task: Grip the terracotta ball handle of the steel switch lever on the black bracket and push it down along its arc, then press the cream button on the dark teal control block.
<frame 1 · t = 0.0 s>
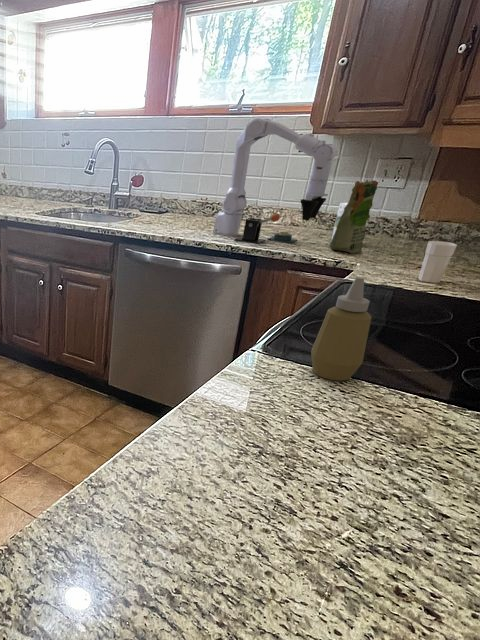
hand: (308, 218, 194), 10 cm above the worktop, tool pointing down, fingers open, 7 cm apart
start button: (283, 233, 203), point 3 cm above the worktop, slide at 0.1 cm
button block: (281, 242, 204), on the worktop
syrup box: (340, 241, 208), on the worktop
squeeze bottle: (330, 375, 95), on the worktop
pouch: (345, 251, 191), on the worktop
switch lever: (264, 220, 197), point 9 cm above the worktop, hinge at 25.0°
cup: (428, 281, 155), on the worktop
switch bracket: (249, 242, 203), on the worktop
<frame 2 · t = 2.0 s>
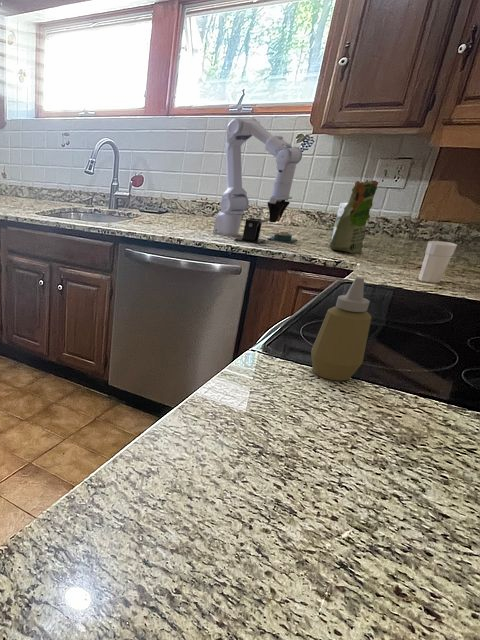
hand: (274, 221, 195), 9 cm above the worktop, tool pointing down, fingers closed on switch lever, 3 cm apart
switch lever: (264, 220, 197), point 9 cm above the worktop, hinge at 25.0°, touching gripper
everything else where it was.
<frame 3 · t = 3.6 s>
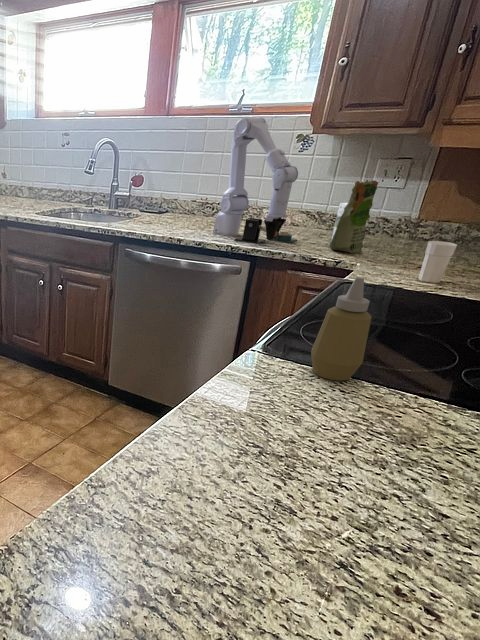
hand: (271, 238, 197), 3 cm above the worktop, tool pointing down, fingers closed on switch lever, 3 cm apart
switch lever: (263, 228, 198), point 6 cm above the worktop, hinge at -17.6°, touching gripper
everything else where it was.
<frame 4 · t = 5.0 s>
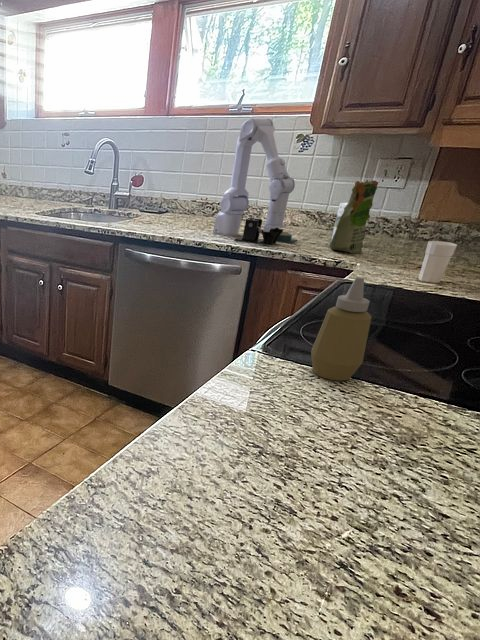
hand: (268, 248, 199), 0 cm above the worktop, tool pointing down, fingers closed on switch lever, 3 cm apart
switch lever: (261, 231, 199), point 5 cm above the worktop, hinge at -33.9°, touching gripper
everything else where it was.
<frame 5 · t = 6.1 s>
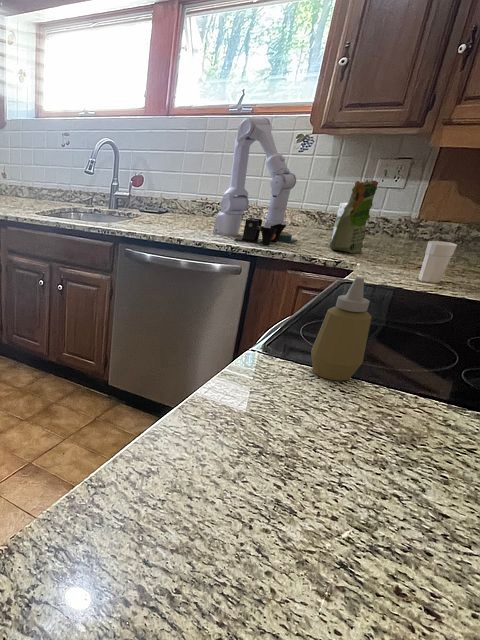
hand: (269, 244, 199), 0 cm above the worktop, tool pointing down, fingers open, 7 cm apart
switch lever: (262, 230, 199), point 5 cm above the worktop, hinge at -25.3°
everything else where it was.
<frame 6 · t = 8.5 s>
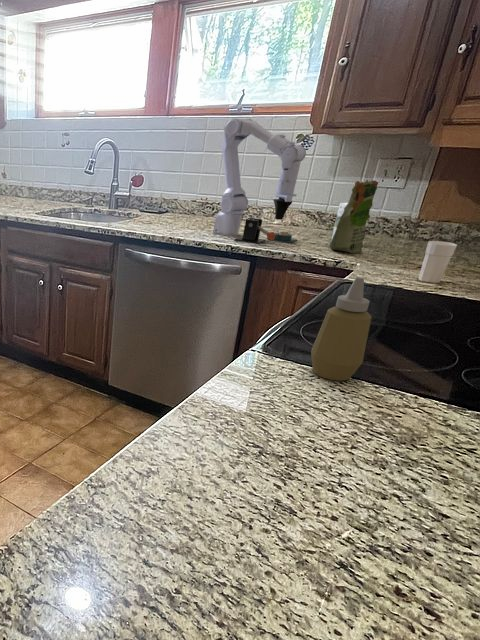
hand: (278, 219, 197), 9 cm above the worktop, tool pointing down, fingers closed
nothing on the worktop moved.
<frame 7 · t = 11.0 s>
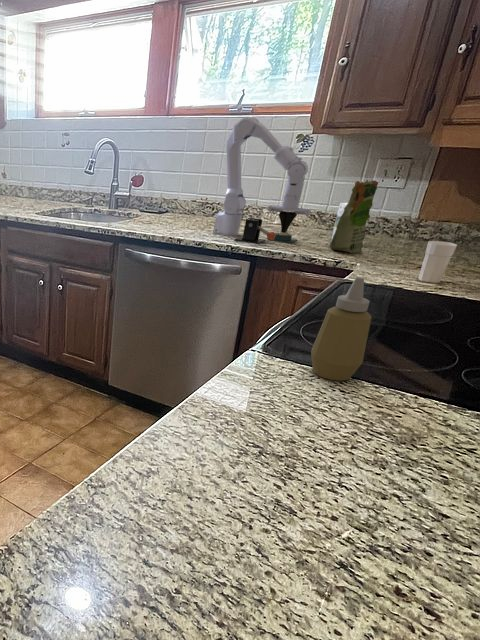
hand: (283, 232, 203), 4 cm above the worktop, tool pointing down, fingers closed, pressing on start button
start button: (283, 234, 203), point 3 cm above the worktop, slide at -0.4 cm, touching gripper
everything else where it was.
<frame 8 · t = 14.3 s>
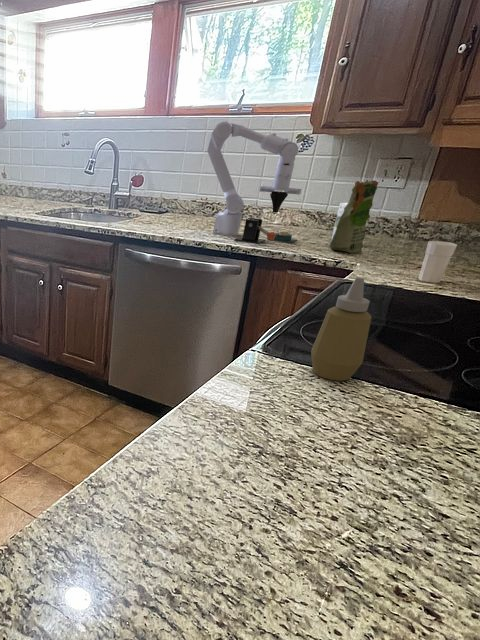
hand: (275, 212, 206), 10 cm above the worktop, tool pointing down, fingers closed
start button: (283, 233, 203), point 3 cm above the worktop, slide at 0.1 cm
everything else where it was.
at the end: switch lever at -25° (first picture: +25°); start button pushed in 1.2 cm at the most during the clip, back to where it started at the end; start button slide at 0.1 cm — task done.
